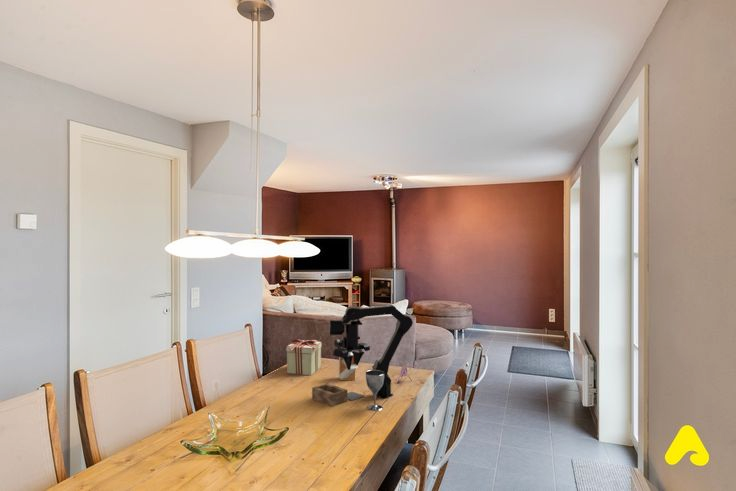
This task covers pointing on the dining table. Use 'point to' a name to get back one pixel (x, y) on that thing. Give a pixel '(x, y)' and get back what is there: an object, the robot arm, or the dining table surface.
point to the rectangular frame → (329, 394)
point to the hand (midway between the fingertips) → (352, 368)
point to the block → (348, 371)
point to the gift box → (303, 357)
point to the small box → (343, 366)
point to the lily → (403, 372)
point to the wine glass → (374, 386)
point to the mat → (353, 396)
